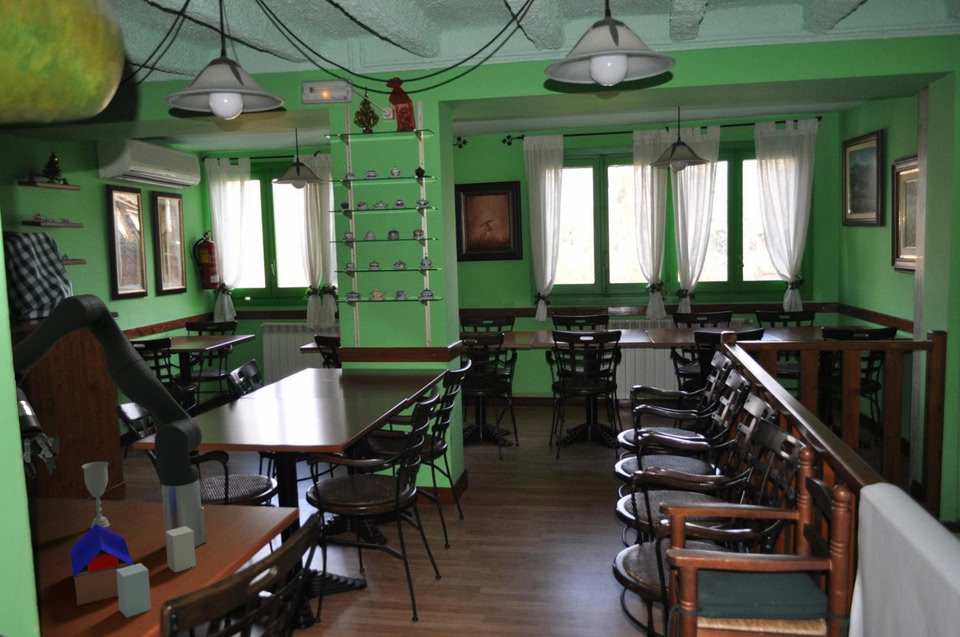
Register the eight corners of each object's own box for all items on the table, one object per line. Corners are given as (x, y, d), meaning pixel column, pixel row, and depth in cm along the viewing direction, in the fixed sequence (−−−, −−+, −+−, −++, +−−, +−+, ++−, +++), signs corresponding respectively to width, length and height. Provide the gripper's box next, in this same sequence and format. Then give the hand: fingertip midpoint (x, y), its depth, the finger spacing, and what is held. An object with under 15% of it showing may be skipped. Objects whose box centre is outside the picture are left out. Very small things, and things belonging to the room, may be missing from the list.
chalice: (118, 524, 217) (113, 463, 216) (95, 532, 211) (90, 469, 210) (104, 520, 221) (99, 460, 219) (81, 527, 215) (76, 466, 214)
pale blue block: (143, 602, 166) (140, 562, 166) (151, 609, 163) (148, 569, 162) (119, 609, 163) (116, 569, 162) (126, 617, 159) (123, 576, 158)
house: (126, 563, 189) (122, 518, 188) (135, 593, 172) (131, 543, 171) (72, 575, 183) (68, 528, 182) (76, 607, 165) (71, 555, 164)
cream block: (188, 560, 189) (185, 525, 188) (195, 566, 185) (193, 530, 184) (168, 566, 185) (165, 531, 185) (175, 572, 182) (172, 536, 181)
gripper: (-7, 418, 191) (17, 473, 184) (52, 408, 202) (76, 459, 195) (-13, 436, 194) (10, 490, 188) (45, 425, 205) (69, 476, 199)
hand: (44, 474), depth 192 cm, fingers open, 3 cm apart
